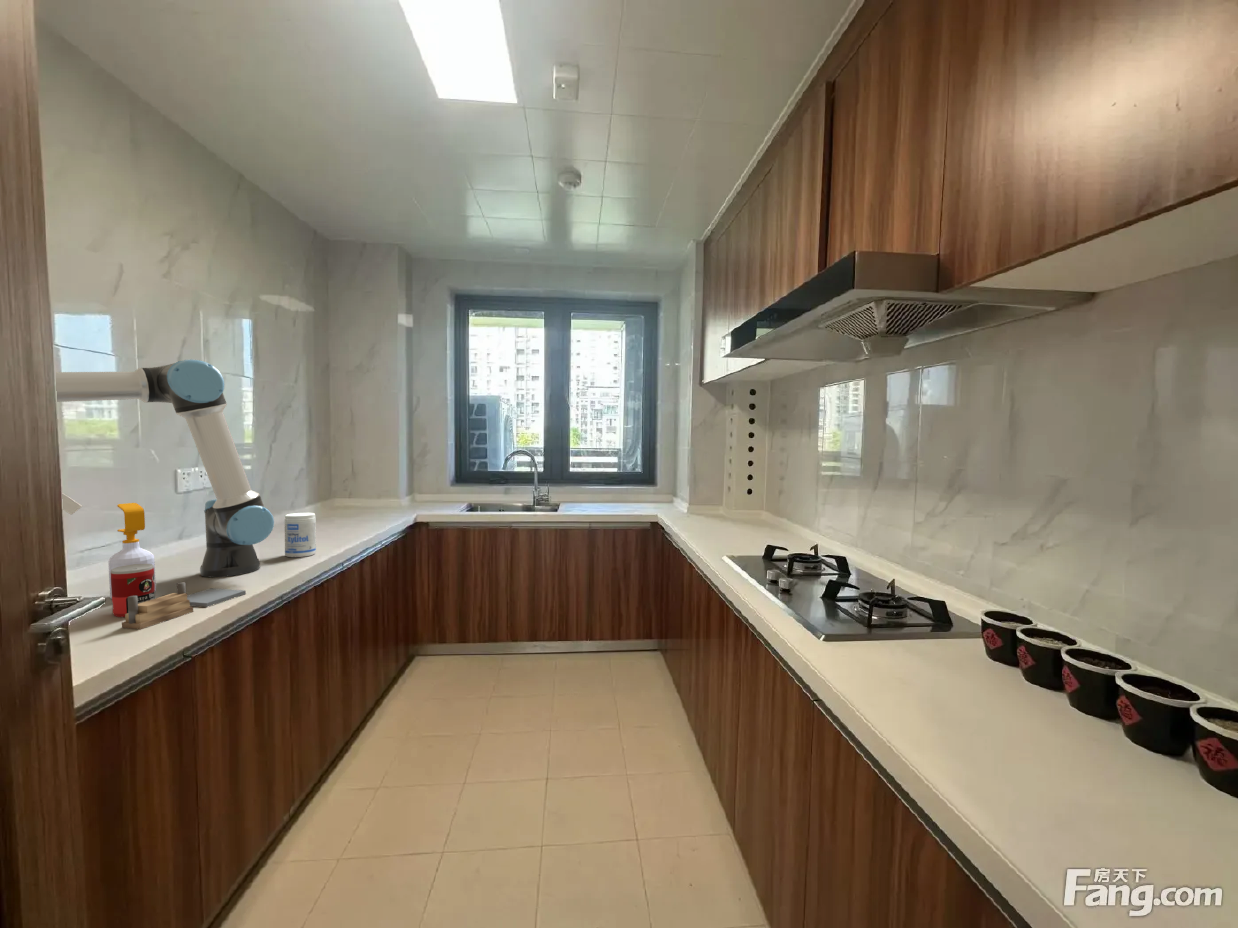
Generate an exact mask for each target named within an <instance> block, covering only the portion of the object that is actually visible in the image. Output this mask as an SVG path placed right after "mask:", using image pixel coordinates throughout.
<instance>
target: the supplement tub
mask: <svg viewBox="0 0 1238 928" xmlns="http://www.w3.org/2000/svg"><path fill="white" fill-rule="evenodd" d="M316 520H317V518H316V514H315V513H314V512H296V513H293V512H292V513H288V514H285V515H284V555H285V556H286V557H288V558H305V557H310V556H313V555H315V554H316V552H317V532H316V531H317V528H316V527H317V521H316Z"/></svg>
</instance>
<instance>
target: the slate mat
mask: <svg viewBox="0 0 1238 928" xmlns="http://www.w3.org/2000/svg"><path fill="white" fill-rule="evenodd" d="M246 591H247V590H246V589H245V590H244V589H228V588H216V587H215V588H214V587H213V588H212V587H211V588H207V589H204V590H201V591H198V592H197V591H196V592H194V593H190V594H187V600H190V607H199V606H204V607H203V608H208V606H209V607H211V605H212V606H214V605H213V604H215V605H218V604H220V603H224V602H227V601H229V599H230V600H232V599H231V598H233V599H235V598H234V597H236V598H238V596H239V597H242V596H245V595H246V594H247V593H246ZM241 595H242V596H241ZM226 600H227V601H226ZM223 601H224V602H223Z"/></svg>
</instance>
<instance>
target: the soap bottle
mask: <svg viewBox="0 0 1238 928" xmlns="http://www.w3.org/2000/svg"><path fill="white" fill-rule="evenodd" d="M116 507H117V508H118V509H120V510H121V511H122V512H123V515H124V518H123V519H124V528H120V529H117V532H119V533H123V535H124V536H126V539H122V549H120V550H119V551H117V552H116V553H114V554H113V555H112V556H111V557H110V558H109V560H108V562H107V563H108V579H109V580H108V581H109V598H110V599H111V600H112V591H111V570H112V569H114V568H116V567H120V566H126V565H133V564H152V565H153V567H154V581H155V592H156V591H157V586H156V566H155V565H156V564H155V562H156V561H155V555H154V554H153V553H152V552H151V551H149V550H147V549H144V548H142V547H141V546H140V539H139V538H136V535H137V534H138V531H144V530H145V529H146V521H145V520H146V519H145V518H146V517H145V516H146V515H145V510H144V508H143V506H141V505H140V504H138V503H137V502H129V503H128V502H127V503H117V505H116Z"/></svg>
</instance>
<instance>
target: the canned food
mask: <svg viewBox="0 0 1238 928" xmlns="http://www.w3.org/2000/svg"><path fill="white" fill-rule="evenodd" d="M155 583H156V580H155V581H154V567H153V565H152V564H133V565H126V566H120V567H116V568H114V569H112V570H111V591H112V599H111V606H112V608H111V609H112V614H113V615H114V617H116V618H125V614H127V613H128V597H129V596H137V597H138V604H139V603H143V602H146V601H149V600H152V599H156V591H155Z"/></svg>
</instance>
